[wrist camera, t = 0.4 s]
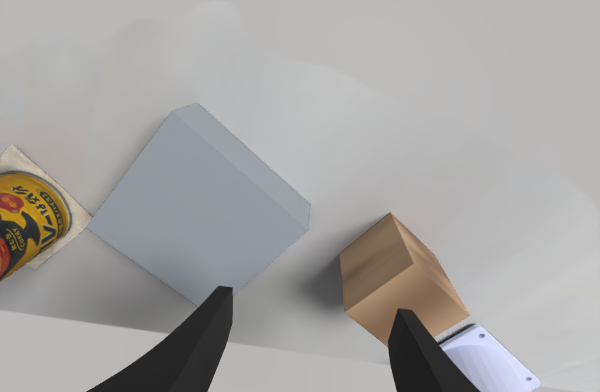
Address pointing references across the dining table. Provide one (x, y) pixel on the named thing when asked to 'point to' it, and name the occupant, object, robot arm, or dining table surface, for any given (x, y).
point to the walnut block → (396, 281)
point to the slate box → (201, 208)
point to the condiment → (33, 214)
